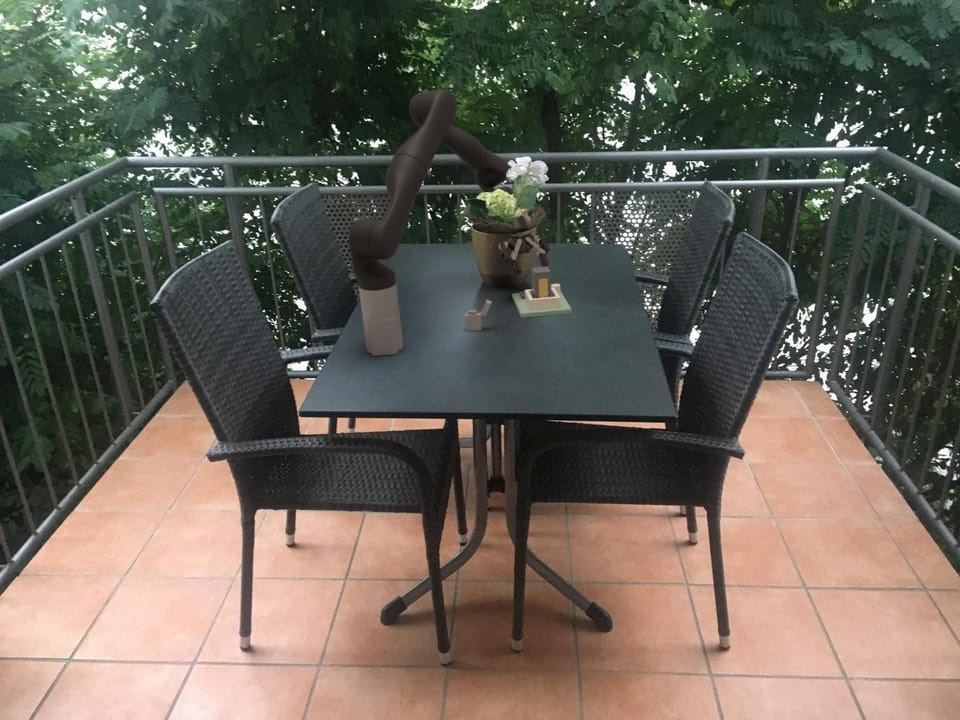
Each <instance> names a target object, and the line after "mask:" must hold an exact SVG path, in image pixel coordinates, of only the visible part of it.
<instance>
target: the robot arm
mask: <svg viewBox="0 0 960 720" xmlns="http://www.w3.org/2000/svg"><path fill="white" fill-rule="evenodd" d="M457 108H458V105H457V99H456V97H455V95H454V94H453V92H451V91H450V90H449V89H448V90H447V89H435V90H430V91H424V92H420V93H417V94H415V95H413V96H412V97H411V99H410V101H409V114H410V118H411V119H412V121H413V123H414V124H415V125H416V126H417V127H418V128H419V129H418V130H417V131H415V133H414V134H413V135H411V136H410V137H409V138H408V139H406V141H404V143H402V145H401V146H399V148H398V149H397V150H396V152H395V153H394V155H393V156H392V159H391V161H390V163H389V165H388V168H387V170H386V172H385V186H386V190H387V194H388V198H389V205H388V209H387V212H386V213H385V216H384V217H383V218H382V219H370V218H359V219H356V220H355V221H353V223H351V226H350V228H349V232H348V243H349V244H348V245H349V251H350V258H351V263H352V269H353V273H354V277H355V278H356V280H357V284H358V285H357V286H358V290H359V298H360V299H359V300H360V307H361V315H362V322H363V330H364V339H365V346H366V352H367V353H369V354H371V355H372V357H376V356H377V357H378V356H379V357H380V356H389V355H397V354H398V352H400V351H401V350H402V349H403V347H404V344H403V335H402V326H401V325H402V324H401V317H400V306H399V296H398V286H397V285H398V284H397V277H396V273H395V271H394V270H393V269H391V268H390V267H388V266H386V265H385V264H384V263H382V262H381V261H380V260H389V259H391V258H392V257H394V256H395V254H396V252H397V251H398V249H399V245H400V244H401V243H400V242H401V240H402V238H403V234H404V231H405V227H406V224H407V221H408V219H409V218H408V217H409V215H410V212H411V211H412V207H413V206H414V202H415V201H416V198H417V195H418V193H419V191H420V189H421V187H422V185H423V183H424V181H425V178H426V176H427V175H428V173H429V172H428V171H429V168H430V166H431V164H432V162H433V159H434V158H435V155H436V154H437V151H438V150H439V147H440V146H441V144H443V146H445V147H446V148H448V149H449V150H450V151H451V152H453V153H454V154H455V155H456V156H457V157H458V158H459V159H460V160H461V161H462V162H463V163H464V164H465V165H466V166H467V167H468V168H469V169H470V170H471V171H473V172H474V175H473V176H474V181H475V183H476V185H477V186H478V187H479V188H480V189H481V190H482V192H483V193H484V194H485V192H493V191H495V190H497V189H501V190H504V191H506V192H508V193H509V194H511V195H512V194H513V193H514V191H513V189H512V188H511V187H509V186H502V187H501V186H500V187H498V186H499V185H501V184H502V183H504V182H505V181H508V179H507V177H506V172H507V171H508V169H509V167H510V165H509V164H508V162H507V161H506V160H505V159H504V158H502V157H500V156H499V155H498V154H495V153H493V152H491V151H489V150H488V149H486V148H485V146H484V145H483V144H482V143H481V141H479V140H478V139H477V137H475V136H473V135H472V134H470V133H468V132H467V131H464V130H463V129H460V128H458V127H457V126H454V125H453V123H454V121H455V119H456V113H457V111H458V109H457ZM496 187H498V188H496ZM526 221H527V219H526V217H525V215H524V216H523V215H521V216H520V217H519V218H517V219H514V220H513V221H511V222H508V223H510V224H511V225H512V226H515V227H513V229H512V232H511V233H513V234H514V233H516V232H518V231H521V230H522V231H523V230H525V231H526V230H530V231H531V229H529V228H530V226H529V224H528V222H526ZM527 224H528V225H527ZM528 226H529V227H528ZM509 234H510V233H509ZM509 234H508V237H507V241H504V240H500V241H499V243H498V245H497V248H498V252H499V254H500V257H501V261H502V263H504V264H510V265H511V268H512V270H513V272H514V274H516V276H520V275H521V273H522V271H523V270H522V268H521V266H520V264H519V261H518V259H517V256H518V255H519V256H520V255H524V254H529V253H530V254H532V255H535V256H536V257H538V260H539V262H540V264H541V267H546V266H548V267H549V265H550V262H549V259H548V258H547V254H548V253H549V252H550V250H551V248H550V246H549V244H548V242H547V240H546V238H545V236H544V234H543V233H542V232H539V234H537V235H535V236H534V235H533V234H532V233H529V234H527V235H524V236H522V237H510V236H509ZM507 248H508V249H510V250H511V254H510V255H509V252H508V250H507Z"/></svg>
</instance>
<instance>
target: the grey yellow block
mask: <svg viewBox="0 0 960 720" xmlns="http://www.w3.org/2000/svg"><path fill="white" fill-rule="evenodd" d="M551 284H552V271H551V269H550V268H549V265H548V266H546V267H542V266H538V267H536V266H535V267H531V289H532V298H533V299H534V298H545V297H551Z"/></svg>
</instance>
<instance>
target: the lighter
mask: <svg viewBox="0 0 960 720" xmlns="http://www.w3.org/2000/svg"><path fill="white" fill-rule="evenodd" d="M491 305H492V300H489V299H486V300H485V302H484V305H483V307H482V308H481V311H480V312H477V309H470V310H468V311H467V312H466V313H464V320H465V321H464V322H465V324H464V325H465V331H466V332H468V331H473V330H474V331H482V317H484V318H485V317H486V316H487V314H488V312H489V310H490V308H491Z"/></svg>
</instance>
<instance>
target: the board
mask: <svg viewBox="0 0 960 720" xmlns="http://www.w3.org/2000/svg"><path fill="white" fill-rule="evenodd" d="M511 295H512V297H511V298H512V300H513V302H514V304H515V306H516V309H517V312H518V313H519V317H520V318H521V319H523V318H533V317H544V316H545V317H546V316H556V315H557V316H558V315H566V314H567V315H569V314H572V311H573V309H572V307H571V306H570V304H569V302H568V301H567V298H565V296H564V294H563V293H562V291H561V285H560V283H551V297H545V298H534V299H533V298H532V288H531V289H524V290H523V291H519V292H517V293H511Z"/></svg>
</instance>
